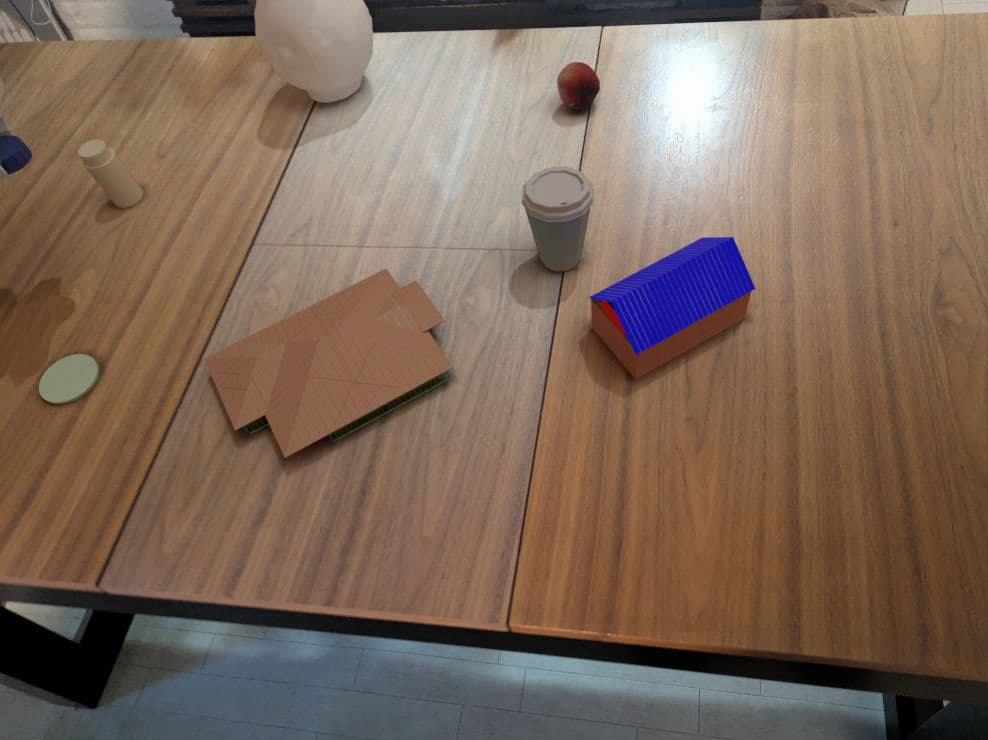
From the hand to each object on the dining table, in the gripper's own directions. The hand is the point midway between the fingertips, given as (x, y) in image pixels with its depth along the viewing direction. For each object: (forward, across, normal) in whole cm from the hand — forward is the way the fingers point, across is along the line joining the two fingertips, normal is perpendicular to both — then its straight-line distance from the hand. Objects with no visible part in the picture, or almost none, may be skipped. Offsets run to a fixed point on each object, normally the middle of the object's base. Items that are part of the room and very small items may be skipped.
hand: (7, 158), depth 102 cm
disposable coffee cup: (+24, -22, -76) cm, 82 cm away
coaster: (+23, -23, +4) cm, 33 cm away
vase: (+24, +37, -43) cm, 62 cm away
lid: (-1, 0, 0) cm, 1 cm away
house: (+24, -39, -87) cm, 99 cm away
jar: (+23, +18, -2) cm, 29 cm away
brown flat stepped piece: (+24, -34, -38) cm, 56 cm away
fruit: (+24, +14, -88) cm, 92 cm away
